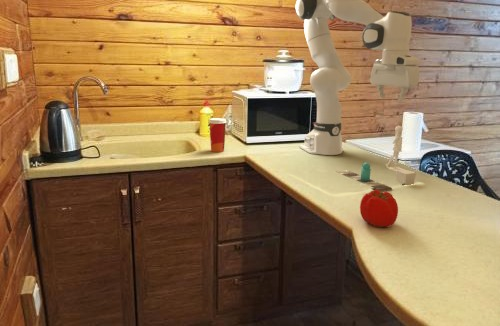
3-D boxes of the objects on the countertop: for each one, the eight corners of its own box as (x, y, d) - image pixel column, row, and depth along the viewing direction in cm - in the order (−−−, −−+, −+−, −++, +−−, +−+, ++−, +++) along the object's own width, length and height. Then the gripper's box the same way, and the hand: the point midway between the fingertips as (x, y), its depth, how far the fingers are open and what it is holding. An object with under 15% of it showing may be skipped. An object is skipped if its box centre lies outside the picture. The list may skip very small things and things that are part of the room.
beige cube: (395, 182, 148) (396, 170, 147) (404, 181, 150) (405, 169, 149) (404, 186, 144) (406, 174, 143) (413, 184, 146) (415, 172, 145)
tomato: (376, 234, 104) (379, 202, 101) (349, 219, 113) (351, 189, 111) (408, 228, 108) (411, 197, 105) (379, 214, 117) (382, 185, 115)
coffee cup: (216, 148, 198) (216, 117, 194) (229, 150, 193) (230, 119, 190) (204, 151, 191) (204, 119, 188) (218, 153, 187) (218, 121, 183)
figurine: (405, 173, 159) (410, 127, 155) (384, 172, 161) (388, 126, 156) (402, 168, 167) (407, 124, 162) (381, 167, 168) (386, 123, 164)
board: (334, 173, 158) (334, 171, 157) (347, 171, 160) (347, 170, 160) (378, 191, 137) (378, 189, 136) (391, 189, 139) (392, 187, 139)
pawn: (358, 179, 147) (360, 161, 146) (365, 178, 149) (367, 161, 147) (364, 182, 145) (366, 164, 143) (371, 181, 146) (373, 163, 144)
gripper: (367, 59, 152) (364, 96, 156) (410, 59, 134) (405, 102, 138) (381, 59, 155) (377, 96, 158) (424, 59, 137) (419, 101, 140)
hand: (390, 99), depth 148 cm, fingers open, 8 cm apart
